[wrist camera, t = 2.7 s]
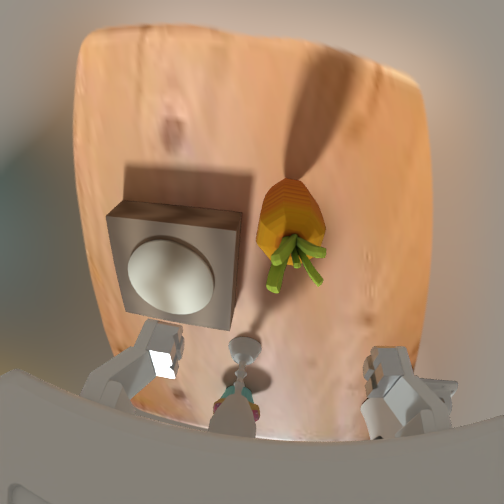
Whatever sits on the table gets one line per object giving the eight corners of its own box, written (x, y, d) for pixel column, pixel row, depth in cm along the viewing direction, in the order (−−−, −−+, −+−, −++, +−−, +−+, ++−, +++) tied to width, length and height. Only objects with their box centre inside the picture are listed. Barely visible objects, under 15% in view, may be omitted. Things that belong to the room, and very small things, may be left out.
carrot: (308, 156, 27) (330, 231, 14) (317, 202, 29) (338, 304, 17) (258, 166, 28) (235, 247, 16) (270, 210, 31) (258, 314, 18)
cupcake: (208, 382, 50) (195, 439, 40) (250, 376, 47) (241, 438, 37) (230, 403, 54) (221, 455, 44) (269, 399, 51) (264, 454, 41)
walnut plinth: (241, 212, 31) (235, 233, 27) (234, 308, 39) (229, 334, 35) (122, 200, 31) (103, 218, 28) (136, 292, 39) (124, 314, 35)
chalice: (231, 326, 41) (206, 445, 26) (275, 340, 41) (266, 457, 26) (217, 353, 45) (193, 457, 30) (257, 365, 45) (244, 469, 30)
